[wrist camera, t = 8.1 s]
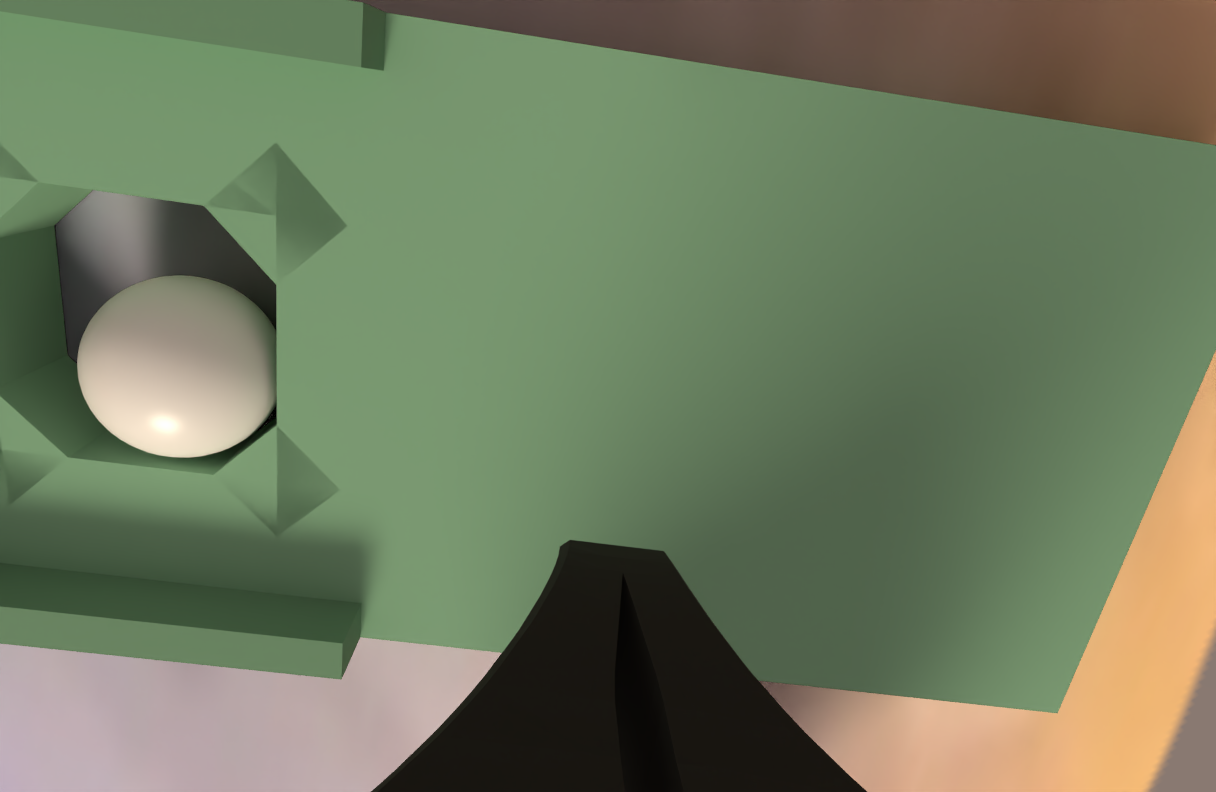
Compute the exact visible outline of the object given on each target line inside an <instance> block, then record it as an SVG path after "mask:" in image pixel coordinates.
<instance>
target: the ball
mask: <svg viewBox="0 0 1216 792" xmlns="http://www.w3.org/2000/svg"><path fill="white" fill-rule="evenodd" d="M77 370H78V379H79V384H80V387H81V390H82V394H83V396H84V398H85V400H86V402H87V404H88V406H89V408H90V410H91V411H92V412H93V414H94V415H95V417H96V418H97V419H98V421H99V422H100V423H101V424H102V425H103V426H104V427H105V428H106V429H107V430H108V431H110V432H111V433H112V434H114V435H115V436H116V437H118V438H119V439H120V440H122V441H124V442H126V443H127V444H129V445H131V446H133V447H135V448H138V449H140V450H143V451H145V452H148V453H152V454H156V455H160V456H167V457H184V458H191V457H199V456H205V455H209V454H213V453H217V452H220V451H223V450H225V449H228V448H230V447H232V446H234V445H236V444H238V443H240V442H241V441H243V440H245V439H246V438H247V437H249V436H250V435H251V434H253V433H254V432H255V431H256V430H257V429H258V428H259V427H260V426H261V425H262V424H263V423H264V422H265V421H266V420H267V418H268V417H269V415H270V414H271V412H272V411H273V409H274V408H275V406H276V404H277V332H276V330H275V328H274V327H273V325H272V323H271V322H270V320H269V319H268V317H267V316H266V315H265V314H264V312H263V311H262V310H261V309H260V308H259V307H258V306H257V305H256V304H255V303H254V302H252V301H251V300H250V299H249V298H247V297H246V296H245V295H243V294H242V293H240V292H238V291H237V290H235V289H233V288H231V287H229V286H227V285H224V284H222V283H220V282H217V281H213V280H210V279H207V278H202V277H196V276H183V275H174V276H162V277H157V278H152V279H148V280H145V281H142V282H139V283H137V284H134V285H132V286H130V287H128V288H126V289H124V290H122V291H121V292H119V293H118V294H116V295H115V296H113V297H112V298H110V299H109V300H108V301H107V302H106V303H105V304H104V305H103V306H102V307H101V308H100V309H99V310H98V311H97V312H96V314H95V315H94V316H93V318H92V319H91V320H90V322H89V324H88V326H87V328H86V330H85V332H84V334H83V336H82V339H81V342H80V346H79V350H78V357H77Z"/></svg>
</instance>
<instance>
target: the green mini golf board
mask: <svg viewBox="0 0 1216 792" xmlns="http://www.w3.org/2000/svg"><path fill="white" fill-rule="evenodd" d="M92 190H97V191H104V192H111V193H118V194H125V195H132V196H139V197H146V198H153V199H160V200H167V201H175V202H182V203H189V204H196V205H203V206H205V208H206V209H207V210H208V211H209V212H210V213H211V214H212V215H213V216H214V217H215V218H216V220H217V221H218V222H219V223H220V224H221V225H222V226H223V227H224V228H225V229H226V230H227V232H228V233H229V234H230V235H231V236H232V237H233V238H234V239H235V240H236V241H237V243H238V244H239V245H240V246H241V247H242V248H243V249H244V250H245V251H246V252H247V253H248V255H249V256H250V257H251V258H252V259H253V260H254V261H255V262H256V263H257V264H258V265H259V267H260V268H261V269H262V270H263V271H264V272H265V273H266V274H267V275H268V276H269V278H270V279H271V280H272V281H273V282H274V283H275V284H276V330H277V417H276V418H275V419H273V420H272V421H271V422H270V423H268V424H267V425H266V426H264V427H263V428H262V429H261V430H259V431H255V432H254V433H253V434H251V435H250V436H249V437H247V438H246V439H245V440H243V441H241V442H240V443H238V444H236V445H234V446H232V447H230V448H228V449H225V450H223V451H220V452H217V453H213V454H209V455H205V456H199V457H191V458H184V457H167V456H160V455H156V454H152V453H148V452H145V451H143V450H140V449H138V448H135V447H133V446H131V445H129V444H127V443H126V442H124V441H122V440H120V439H119V438H118V437H116V436H115V435H114V434H112V433H111V432H110V431H108V430H107V429H106V428H105V427H104V426H103V425H102V424H101V423H100V422H99V421H98V419H97V418H96V417H95V415H94V414H93V412H92V411H91V410H90V408H89V406H88V404H87V402H86V400H85V398H84V396H83V394H82V390H81V387H80V384H79V379H78V370H77V364H76V363H75V362H74V361H73V360H72V359H71V358H70V357H69V356H68V355H67V346H66V336H65V326H64V316H63V306H62V296H61V287H60V277H59V267H58V257H57V247H56V237H55V227H54V225H55V224H57V223H58V222H59V221H60V220H61V219H62V218H63V217H64V216H65V215H66V214H67V213H68V212H70V211H71V210H72V209H73V208H74V207H75V206H76V205H77V204H78V203H79V202H80V201H81V200H83V199H84V198H85V197H86V196H87V195H88V194H89V193H90V192H91V191H92ZM1215 350H1216V145H1211V144H1205V143H1198V142H1192V141H1186V140H1180V139H1173V138H1167V137H1161V136H1155V135H1148V134H1142V133H1136V132H1130V131H1123V130H1117V129H1111V128H1105V127H1098V126H1092V125H1086V124H1080V123H1073V122H1067V121H1061V120H1055V119H1048V118H1042V117H1036V116H1030V115H1023V114H1017V113H1011V112H1005V111H998V110H992V109H986V108H980V107H973V106H967V105H961V104H955V103H948V102H942V101H936V100H930V99H923V98H917V97H911V96H905V95H898V94H892V93H886V92H880V91H873V90H867V89H861V88H855V87H848V86H842V85H836V84H830V83H823V82H817V81H811V80H805V79H798V78H792V77H786V76H779V75H773V74H767V73H761V72H754V71H748V70H742V69H736V68H729V67H723V66H717V65H711V64H704V63H698V62H692V61H686V60H679V59H673V58H667V57H661V56H654V55H648V54H642V53H636V52H629V51H623V50H617V49H611V48H604V47H598V46H592V45H586V44H579V43H573V42H567V41H561V40H554V39H548V38H542V37H536V36H529V35H523V34H517V33H511V32H504V31H498V30H492V29H486V28H479V27H473V26H467V25H461V24H454V23H448V22H442V21H436V20H429V19H423V18H417V17H411V16H404V15H398V14H392V13H386V12H384V11H381V10H379V9H377V8H374V7H372V6H370V5H367V4H365V3H363V2H356V1H350V0H0V643H1V644H11V645H20V646H30V647H39V648H49V649H58V650H68V651H77V652H87V653H96V654H106V655H115V656H125V657H134V658H144V659H153V660H163V661H172V662H181V663H191V664H200V665H210V666H219V667H229V668H238V669H248V670H257V671H267V672H276V673H286V674H295V675H305V676H314V677H324V678H333V679H342V677H343V675H344V672H345V670H346V668H347V666H348V663H349V661H350V659H351V657H352V654H353V652H354V650H355V648H356V645H357V643H358V641H359V639H360V637H363V638H372V639H381V640H390V641H400V642H409V643H418V644H427V645H436V646H446V647H455V648H464V649H473V650H482V651H491V652H501V653H502V652H503V651H504V650H505V648H506V647H507V646H508V644H509V643H510V642H511V640H512V639H513V638H514V636H515V635H516V633H517V632H518V630H519V629H520V627H521V626H522V624H523V623H524V621H525V619H526V618H527V616H528V615H529V613H530V611H531V610H532V608H533V606H534V605H535V603H536V602H537V600H538V598H539V597H540V595H541V593H542V591H543V589H544V587H545V585H546V584H547V582H548V580H549V578H550V576H551V573H552V571H553V569H554V567H555V564H556V561H557V558H558V555H559V549H560V546H561V545H563V544H564V543H566V542H567V541H569V540H576V541H584V542H593V543H601V544H610V545H618V546H626V547H635V548H643V549H652V550H660V551H664V552H665V553H666V554H667V556H668V557H669V559H670V560H671V561H672V563H673V564H674V566H675V567H676V569H677V570H678V572H679V573H680V575H681V576H682V578H683V579H684V581H685V582H686V584H687V585H688V587H689V588H690V590H691V591H692V593H693V594H694V596H695V597H696V599H697V600H698V602H699V603H700V604H701V606H702V607H703V609H704V610H705V612H706V613H707V615H708V616H709V617H710V619H711V620H712V622H713V623H714V624H715V626H716V627H717V628H718V630H719V631H720V632H721V634H722V635H723V636H724V638H725V639H726V640H727V642H728V643H729V644H730V646H731V647H732V648H733V650H734V651H735V652H736V654H737V655H738V656H739V658H740V659H741V660H742V661H743V663H744V664H745V665H746V666H747V668H748V669H749V670H750V671H751V673H752V674H753V675H754V676H755V677H756V679H757V680H758V681H767V682H776V683H785V684H794V685H803V686H813V687H822V688H831V689H840V690H849V691H858V692H868V693H877V694H886V695H895V696H904V697H913V698H923V699H932V700H941V701H950V702H959V703H969V704H978V705H987V706H996V707H1005V708H1014V709H1024V710H1033V711H1042V712H1051V713H1058V710H1059V708H1060V706H1061V704H1062V701H1063V699H1064V697H1065V694H1066V692H1067V690H1068V688H1069V685H1070V683H1071V681H1072V678H1073V676H1074V674H1075V672H1076V669H1077V667H1078V665H1079V662H1080V660H1081V658H1082V655H1083V653H1084V651H1085V649H1086V646H1087V644H1088V642H1089V639H1090V637H1091V635H1092V633H1093V630H1094V628H1095V626H1096V623H1097V621H1098V619H1099V616H1100V614H1101V612H1102V610H1103V607H1104V605H1105V603H1106V600H1107V598H1108V596H1109V594H1110V591H1111V589H1112V587H1113V584H1114V582H1115V580H1116V577H1117V575H1118V573H1119V571H1120V568H1121V566H1122V564H1123V561H1124V559H1125V557H1126V555H1127V552H1128V550H1129V548H1130V545H1131V543H1132V541H1133V539H1134V536H1135V534H1136V532H1137V529H1138V527H1139V525H1140V522H1141V520H1142V518H1143V516H1144V513H1145V511H1146V509H1147V506H1148V504H1149V502H1150V500H1151V497H1152V495H1153V493H1154V490H1155V488H1156V486H1157V483H1158V481H1159V479H1160V477H1161V474H1162V472H1163V470H1164V467H1165V465H1166V463H1167V461H1168V458H1169V456H1170V454H1171V451H1172V449H1173V447H1174V444H1175V442H1176V440H1177V438H1178V435H1179V433H1180V431H1181V428H1182V426H1183V424H1184V422H1185V419H1186V417H1187V415H1188V412H1189V410H1190V408H1191V406H1192V403H1193V401H1194V399H1195V396H1196V394H1197V392H1198V389H1199V387H1200V385H1201V383H1202V380H1203V378H1204V376H1205V373H1206V371H1207V369H1208V367H1209V364H1210V362H1211V360H1212V357H1213V355H1214V353H1215Z"/></svg>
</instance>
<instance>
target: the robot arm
mask: <svg viewBox="0 0 1216 792" xmlns="http://www.w3.org/2000/svg"><path fill="white" fill-rule="evenodd" d="M371 792H867V791H866V790H865V789H864V788H862V787H861V786H860V785H859V784H858V783H857V782H856V781H855V780H854V779H852V778H851V777H850V776H849V775H848V774H847V773H846V772H845V771H844V770H843V769H842V768H841V767H840V766H839V765H838V764H837V763H836V762H835V761H834V760H833V759H832V758H831V757H830V756H829V755H828V754H827V753H826V752H825V751H824V750H823V749H821V748H820V747H819V746H818V745H817V744H816V743H815V742H814V741H813V740H812V739H811V738H810V737H809V736H808V735H807V734H806V733H805V732H804V731H803V730H802V729H801V728H800V727H799V726H798V724H797V723H796V722H795V721H794V720H793V719H792V718H791V717H790V716H789V715H788V714H787V713H786V712H785V711H784V710H783V708H782V707H781V706H780V705H779V704H778V703H777V702H776V700H775V699H774V698H773V697H772V696H771V695H770V693H769V692H768V691H767V690H766V689H765V688H764V687H763V685H762V684H761V683H760V682H759V681H758V680H757V679H756V677H755V676H754V675H753V674H752V673H751V671H750V670H749V669H748V668H747V666H746V665H745V664H744V663H743V661H742V660H741V659H740V658H739V656H738V655H737V654H736V652H735V651H734V650H733V648H732V647H731V646H730V644H729V643H728V642H727V640H726V639H725V638H724V636H723V635H722V634H721V632H720V631H719V630H718V628H717V627H716V626H715V624H714V623H713V622H712V620H711V619H710V617H709V616H708V615H707V613H706V612H705V610H704V609H703V607H702V606H701V604H700V603H699V602H698V600H697V599H696V597H695V596H694V594H693V593H692V591H691V590H690V588H689V587H688V585H687V584H686V582H685V581H684V579H683V578H682V576H681V575H680V573H679V572H678V570H677V569H676V567H675V566H674V564H673V563H672V561H671V560H670V559H669V557H668V556H667V554H666V553H665V552H664V551H660V550H652V549H643V548H635V547H626V546H618V545H610V544H601V543H593V542H584V541H576V540H569V541H567V542H566V543H564V544H563V545H561V546H560V549H559V555H558V558H557V561H556V564H555V567H554V569H553V571H552V573H551V576H550V578H549V580H548V582H547V584H546V585H545V587H544V589H543V591H542V593H541V595H540V597H539V598H538V600H537V602H536V603H535V605H534V606H533V608H532V610H531V611H530V613H529V615H528V616H527V618H526V619H525V621H524V623H523V624H522V626H521V627H520V629H519V630H518V632H517V633H516V635H515V636H514V638H513V639H512V640H511V642H510V643H509V644H508V646H507V647H506V648H505V650H504V651H503V652H502V654H501V655H500V656H499V658H498V659H497V660H496V662H495V663H494V664H493V666H492V667H491V668H490V670H489V671H488V672H487V674H486V675H485V676H484V677H483V679H482V680H481V681H480V682H479V683H478V685H477V686H476V687H475V688H474V689H473V691H472V692H471V693H470V694H469V695H468V696H467V698H466V699H465V700H464V701H463V702H462V703H461V704H460V706H459V707H458V708H457V709H456V710H455V711H454V712H453V713H452V714H451V715H450V716H449V717H448V718H447V720H446V721H445V722H444V723H443V724H442V725H441V726H440V727H439V728H438V729H437V730H436V731H435V732H434V733H433V734H432V735H431V736H430V737H429V738H428V739H427V740H426V741H425V742H424V743H423V744H422V745H421V746H420V747H419V748H418V749H417V750H416V751H415V752H414V753H413V754H412V755H411V756H409V757H408V758H407V759H406V760H405V761H404V762H403V763H402V764H401V765H400V766H399V767H398V768H397V769H396V770H395V771H394V772H393V773H392V774H391V775H389V776H388V777H387V778H386V779H385V780H384V781H383V782H382V783H381V784H379V785H378V786H377V787H376V788H375V789H374V790H373V791H371Z"/></svg>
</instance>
